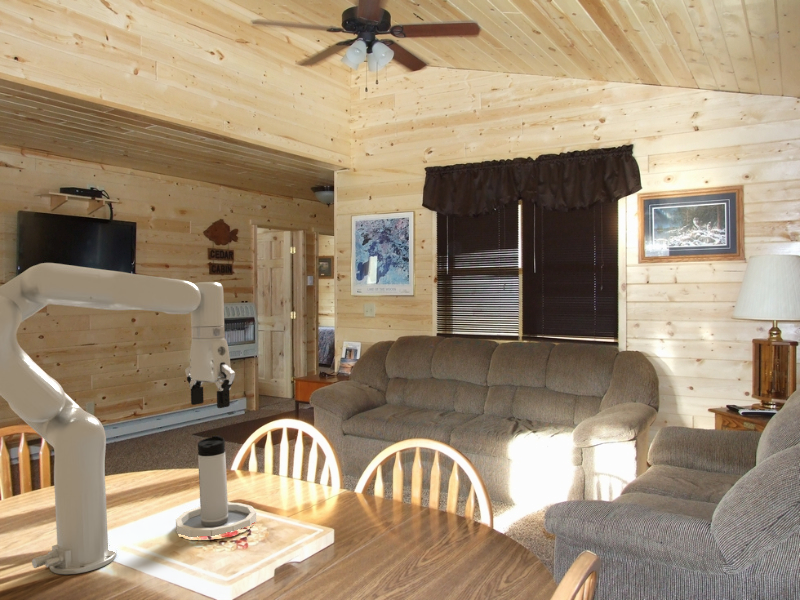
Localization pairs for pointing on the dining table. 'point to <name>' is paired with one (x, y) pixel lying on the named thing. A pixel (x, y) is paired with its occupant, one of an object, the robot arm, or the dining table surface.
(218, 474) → the travel mug
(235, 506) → the round tray
